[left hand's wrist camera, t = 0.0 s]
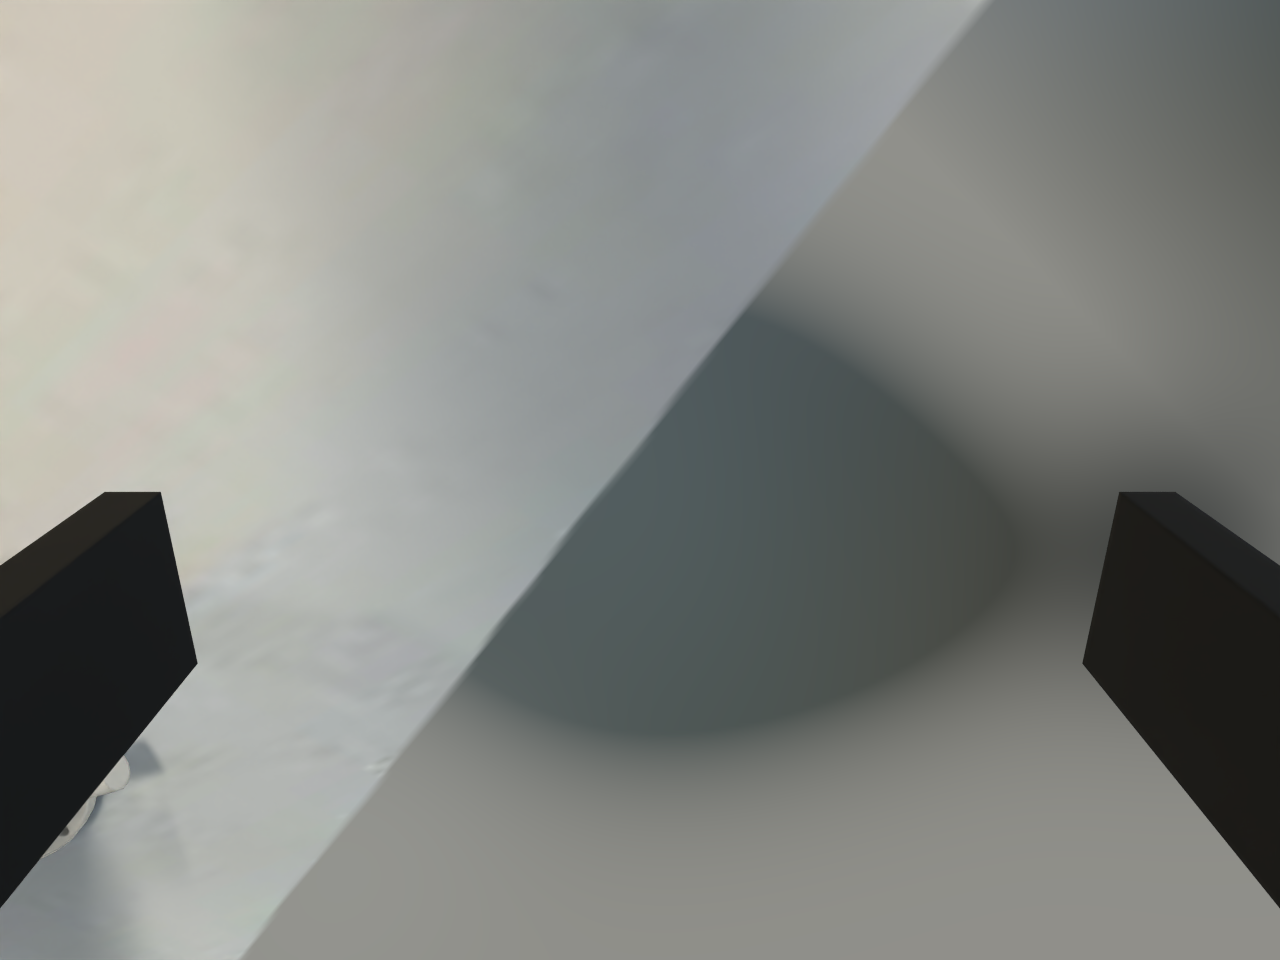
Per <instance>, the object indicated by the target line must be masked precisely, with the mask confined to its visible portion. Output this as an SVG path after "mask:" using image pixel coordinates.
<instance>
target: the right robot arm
mask: <svg viewBox="0 0 1280 960" xmlns="http://www.w3.org/2000/svg"><path fill="white" fill-rule="evenodd" d="M129 777H130V767H129V763H128V761H127V759H126V757H125V756H124V755H123V757H122V758H121V759H120V760H119V761H118V763H117V764H116V765H115V766H114V768H113V769H112V770H111V771H110V773H109V774H108V775H107V776H106V778H105V779H104V780H103V781H102V783H101V784H100V785H99V786H98V788H97V789H96V790H95V791H94V792H93V794H92V795H91V796H90V797H89V799H88V800H87V801H86V802H85V804H84V805H83V806H82V807H81V809H80V810H79V811H78V812H77V814H76V815H75V816H74V817H73V819H72V820H71V821H70V822H69V823H68V825H67V826H66V827H65V828H64V830H63V831H62V832H61V833H60V835H59V836H58V837H57V838H56V840H55V841H54V842H53V843H52V845H51V846H50V847H49V848H48V850H47V851H46V852H45V853H44V854H43V856H42V857H41V858H40V859H42V858H44V857H46V856H48V855H50V854H52V853H54V852H56V851H58V850H60V849H61V848H62V847H63V846H65V845H66V844H67V843H68V842H69V841H71V840H72V839H73V838H74V836H75V835H76V834H77V833H78V831H79V830H80V829H81V828H82V826H83V825H84V824H85V823H86V821H87V819H88V818H89V816H90V814H91V812H92V811H93V809H94V806H95V802H96V798H97V796H100V795H104V794H108V793H111V792H115V791H118V790H121V789H123V788H124V787H125V786H126V784H127V783H128V781H129Z"/></svg>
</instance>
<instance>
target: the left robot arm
mask: <svg viewBox="0 0 1280 960" xmlns="http://www.w3.org/2000/svg"><path fill="white" fill-rule="evenodd" d="M197 664H198V663H197V659H196V654H195V649H194V645H193V640H192V635H191V631H190V626H189V621H188V617H187V612H186V607H185V603H184V598H183V593H182V589H181V584H180V579H179V575H178V570H177V566H176V561H175V556H174V552H173V547H172V542H171V538H170V533H169V528H168V524H167V519H166V514H165V510H164V505H163V500H162V496H161V492H104V493H103V494H101V495H100V496H98V497H97V498H96V499H94V500H93V501H91V502H90V503H88V504H87V505H86V506H84V507H83V508H81V509H80V510H79V511H77V512H76V513H74V514H73V515H71V516H70V517H69V518H67V519H66V520H64V521H63V522H61V523H60V524H59V525H57V526H56V527H54V528H53V529H52V530H50V531H49V532H47V533H46V534H44V535H43V536H42V537H40V538H39V539H37V540H36V541H35V542H33V543H32V544H30V545H29V546H27V547H26V548H25V549H23V550H22V551H20V552H19V553H17V554H16V555H15V556H13V557H12V558H10V559H9V560H8V561H6V562H5V563H3V564H2V565H0V908H1V907H2V905H3V904H4V903H5V902H6V900H7V899H8V898H9V897H10V895H11V894H12V893H13V892H14V890H15V889H16V888H17V887H18V885H19V884H20V883H21V882H22V881H23V879H24V878H25V877H26V876H27V874H28V873H29V872H30V871H31V869H32V868H33V867H34V866H35V864H36V863H37V862H38V861H39V859H40V858H41V857H42V856H43V854H44V853H45V852H46V851H47V850H48V848H49V847H50V846H51V845H52V843H53V842H54V841H55V840H56V838H57V837H58V836H59V835H60V833H61V832H62V831H63V830H64V828H65V827H66V826H67V825H68V823H69V822H70V821H71V820H72V819H73V817H74V816H75V815H76V814H77V812H78V811H79V810H80V809H81V807H82V806H83V805H84V804H85V802H86V801H87V800H88V799H89V797H90V796H91V795H92V794H93V792H94V791H95V790H96V789H97V788H98V786H99V785H100V784H101V783H102V781H103V780H104V779H105V778H106V776H107V775H108V774H109V773H110V771H111V770H112V769H113V768H114V766H115V765H116V764H117V763H118V761H119V760H120V759H121V758H122V757H123V755H124V754H125V753H126V752H127V750H128V749H129V748H130V747H131V745H132V744H133V743H134V742H135V740H136V739H137V738H138V737H139V735H140V734H141V733H142V732H143V730H144V729H145V728H146V727H147V726H148V724H149V723H150V722H151V721H152V719H153V718H154V717H155V716H156V714H157V713H158V712H159V711H160V709H161V708H162V707H163V706H164V704H165V703H166V702H167V701H168V699H169V698H170V697H171V696H172V695H173V693H174V692H175V691H176V690H177V688H178V687H179V686H180V685H181V683H182V682H183V681H184V680H185V678H186V677H187V676H188V675H189V673H190V672H191V671H192V670H193V668H194V667H195V666H196V665H197ZM1083 665H1084V666H1085V667H1086V668H1087V670H1088V671H1089V672H1090V673H1091V675H1092V676H1093V677H1094V678H1095V680H1096V681H1097V682H1098V683H1099V685H1100V686H1101V687H1102V688H1103V690H1104V691H1105V692H1106V693H1107V695H1108V696H1109V697H1110V698H1111V699H1112V701H1113V702H1114V703H1115V704H1116V706H1117V707H1118V708H1119V709H1120V711H1121V712H1122V713H1123V714H1124V716H1125V717H1126V718H1127V719H1128V721H1129V722H1130V723H1131V724H1132V726H1133V727H1134V728H1135V729H1136V730H1137V732H1138V733H1139V734H1140V735H1141V737H1142V738H1143V739H1144V740H1145V742H1146V743H1147V744H1148V745H1149V747H1150V748H1151V749H1152V750H1153V751H1154V753H1155V754H1156V755H1157V757H1158V758H1159V759H1160V760H1161V761H1162V763H1163V764H1164V765H1165V766H1166V768H1167V769H1168V770H1169V771H1170V773H1171V774H1172V775H1173V776H1174V778H1175V779H1176V780H1177V781H1178V783H1179V784H1180V785H1181V786H1182V788H1183V789H1184V790H1185V791H1186V792H1187V794H1188V795H1189V796H1190V797H1191V799H1192V800H1193V801H1194V802H1195V804H1196V805H1197V806H1198V807H1199V809H1200V810H1201V811H1202V812H1203V814H1204V815H1205V816H1206V817H1207V819H1208V820H1209V821H1210V822H1211V823H1212V825H1213V826H1214V827H1215V828H1216V830H1217V831H1218V832H1219V833H1220V835H1221V836H1222V837H1223V838H1224V840H1225V841H1226V842H1227V843H1228V845H1229V846H1230V847H1231V848H1232V850H1233V851H1234V852H1235V853H1236V854H1237V856H1238V857H1239V858H1240V859H1241V861H1242V862H1243V863H1244V864H1245V866H1246V867H1247V868H1248V869H1249V871H1250V872H1251V873H1252V874H1253V876H1254V877H1255V878H1256V879H1257V881H1258V882H1259V883H1260V884H1261V885H1262V887H1263V888H1264V889H1265V890H1266V892H1267V893H1268V894H1269V895H1270V897H1271V898H1272V899H1273V900H1274V902H1275V903H1276V904H1277V905H1278V907H1279V908H1280V565H1278V564H1277V563H1275V562H1274V561H1272V560H1271V559H1270V558H1268V557H1267V556H1265V555H1264V554H1262V553H1261V552H1260V551H1258V550H1257V549H1255V548H1254V547H1253V546H1251V545H1250V544H1248V543H1247V542H1245V541H1244V540H1243V539H1241V538H1240V537H1238V536H1237V535H1236V534H1234V533H1233V532H1231V531H1230V530H1228V529H1227V528H1226V527H1224V526H1223V525H1221V524H1220V523H1219V522H1217V521H1216V520H1214V519H1213V518H1211V517H1210V516H1209V515H1207V514H1206V513H1204V512H1203V511H1201V510H1200V509H1199V508H1197V507H1196V506H1194V505H1193V504H1192V503H1190V502H1189V501H1187V500H1186V499H1184V498H1183V497H1182V496H1180V495H1179V494H1177V493H1176V492H1119V496H1118V500H1117V505H1116V510H1115V514H1114V519H1113V524H1112V528H1111V533H1110V538H1109V542H1108V547H1107V552H1106V556H1105V561H1104V566H1103V570H1102V575H1101V580H1100V584H1099V589H1098V594H1097V598H1096V603H1095V608H1094V612H1093V617H1092V621H1091V626H1090V631H1089V635H1088V640H1087V645H1086V649H1085V654H1084V659H1083Z"/></svg>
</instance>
